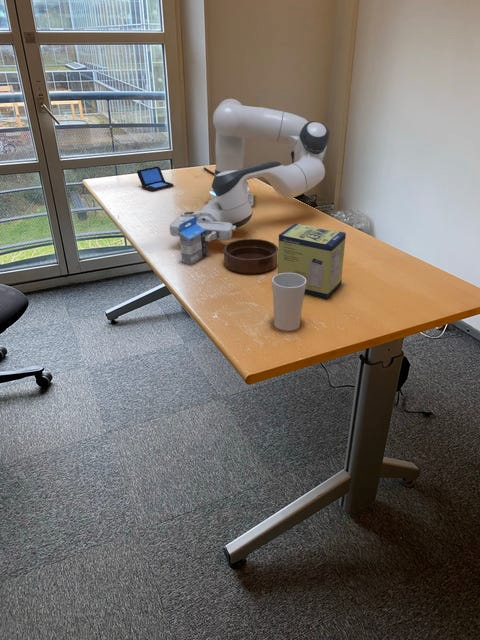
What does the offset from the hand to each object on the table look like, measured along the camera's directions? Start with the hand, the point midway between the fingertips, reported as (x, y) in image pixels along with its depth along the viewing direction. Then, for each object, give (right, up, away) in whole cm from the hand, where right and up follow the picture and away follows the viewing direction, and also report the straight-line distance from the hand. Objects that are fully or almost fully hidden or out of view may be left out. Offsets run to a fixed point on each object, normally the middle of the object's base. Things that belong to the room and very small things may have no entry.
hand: (194, 238), depth 155 cm
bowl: (+17, -8, -1) cm, 19 cm away
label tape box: (0, -6, +3) cm, 7 cm away
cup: (+26, -26, -31) cm, 48 cm away
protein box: (+33, -16, -13) cm, 39 cm away
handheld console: (-24, +35, +72) cm, 84 cm away
